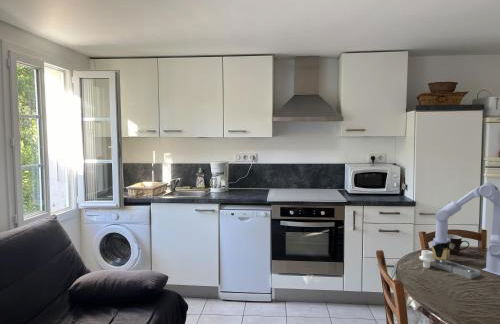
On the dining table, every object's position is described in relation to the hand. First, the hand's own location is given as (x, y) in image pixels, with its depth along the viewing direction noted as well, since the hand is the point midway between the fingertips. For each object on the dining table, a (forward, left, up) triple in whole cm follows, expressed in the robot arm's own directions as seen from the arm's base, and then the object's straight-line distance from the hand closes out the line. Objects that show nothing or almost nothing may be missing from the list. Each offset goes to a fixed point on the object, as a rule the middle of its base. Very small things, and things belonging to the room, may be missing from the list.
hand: (440, 256), depth 190 cm
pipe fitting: (-2, +16, -2) cm, 16 cm away
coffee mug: (+1, -16, -2) cm, 16 cm away
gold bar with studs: (0, 0, -2) cm, 2 cm away
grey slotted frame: (-13, +8, -2) cm, 15 cm away
